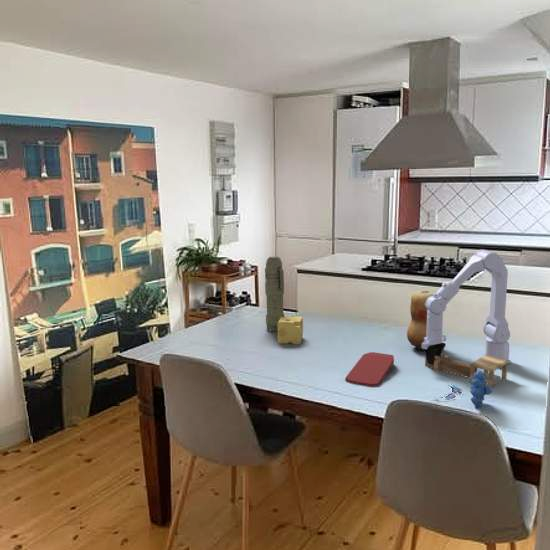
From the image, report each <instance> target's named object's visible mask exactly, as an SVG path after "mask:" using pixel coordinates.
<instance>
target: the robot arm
mask: <svg viewBox="0 0 550 550" xmlns="http://www.w3.org/2000/svg"><path fill="white" fill-rule="evenodd" d="M486 271H487V272H488V273H489V274H490V275H491V285H490V286H491V287H490V302H489V303H490V304H489V315H488V316H487V317H486V320H485V324H484V325H483V333H484V335H485V352H484V354H485V355H488V356H492V357H497V358H501V359H506V360H508V363H507V365H508V364H510V363H511V362H512V360H510V344H509V342H508V341H509V339H510V337H511V331H510V329H509V323H508V321H507V318H506V306H507V304H506V303H507V293H508V292H507V289H508V273H509V272H508V271H509V270H508V268H507V266H506V265H505V262H504V258H503V257H502V256H501V255H500V254H498V253H496V252H491V251H489V250H487V249H478V250H477V251H476V252H475V253H474V255H472V256H470V258H469V260H468V262H467V263H466V264H465V265H464V266H463V267H462V269H461V270H460V271H459V272H458V274H457V275H456V276H455V277H454V278H453V279H452V280H449V281H448V280H446V282H443V283H441V287H440V288H438V290H437V291H436V293H434V294H433V295H434V296H432V297H429V298H428V299H427V300H426V303H425V307H426V308H427V335H426V337H425V338H424V340H425V341H424V342H423V343H422V348H423V350H422V351H423V352H424V354H425V356H426V358H427V362H428V364H431V365H433V364H434V360H435V355H436V356H440V357H442V354H443V351H444V349H445V348H446V343H445V341H446V342H447V335H444V334H443V326H444V325H443V323H444V322H443V321H444V312H445V311H446V310H447V305H448V304H449V303H450V302H451V300H452V299H453V298H454V297H455V296H457V295H458V293H459V292H460V287H461V286H462V285H463V284H464V283H465V282H466V281H467V280H469V279H470V277H472V276H473V275H474V274H475V273H478V272H479V273H480V272H486ZM485 355H484V356H485ZM499 369H502V366H501V367H500V368H499Z"/></svg>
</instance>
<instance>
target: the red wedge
mask: <svg viewBox="0 0 550 550" xmlns="http://www.w3.org/2000/svg"><path fill="white" fill-rule="evenodd" d="M394 363H395V356H394V355H393V354H387V353H380V352H371V351H369V352H367V353H365V354H363V355H362V356H361V357H360V358H359V359H358V361H357V362H356V363H355V365H354V366H353V367H352V369H351V370H350V371H349V372H348V374H347V375H346V376H345V381H346V382H349V383H350V384H353V385H354V384H356V385H361V386H367V387H379V386H380V385H381V383H382V381H383V380H384V379H385V377H386V375H387V374H388V372H389V371H390V369H391V368H392V367H393V365H394Z"/></svg>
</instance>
